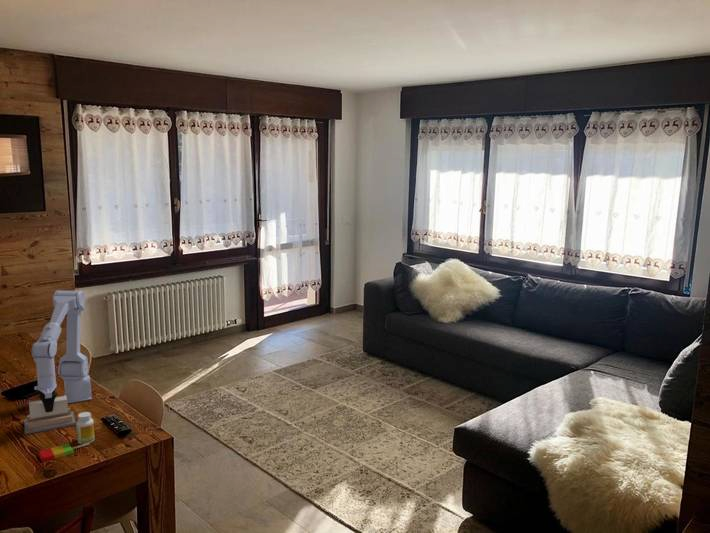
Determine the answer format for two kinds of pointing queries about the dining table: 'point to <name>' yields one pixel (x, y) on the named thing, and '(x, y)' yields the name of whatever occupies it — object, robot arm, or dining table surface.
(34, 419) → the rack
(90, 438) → the supplement bottle
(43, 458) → the popsicle
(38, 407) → the beige rectangular block
